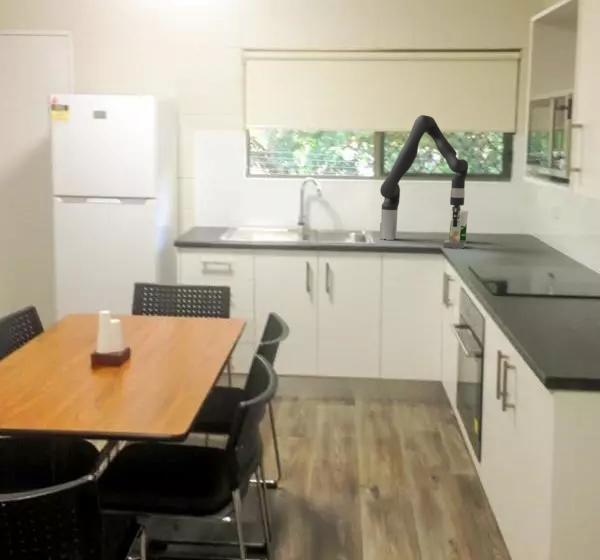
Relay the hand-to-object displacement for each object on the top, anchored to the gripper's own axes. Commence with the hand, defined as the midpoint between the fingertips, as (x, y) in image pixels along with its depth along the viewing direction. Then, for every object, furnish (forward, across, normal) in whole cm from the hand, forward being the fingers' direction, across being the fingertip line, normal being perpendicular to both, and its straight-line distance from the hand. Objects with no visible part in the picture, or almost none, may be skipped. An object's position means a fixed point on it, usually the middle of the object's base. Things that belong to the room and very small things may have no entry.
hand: (455, 225), depth 462 cm
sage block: (+3, 0, 0) cm, 3 cm away
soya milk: (+12, +20, 0) cm, 23 cm away
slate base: (+12, 0, 0) cm, 12 cm away
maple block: (+9, 0, 0) cm, 9 cm away
